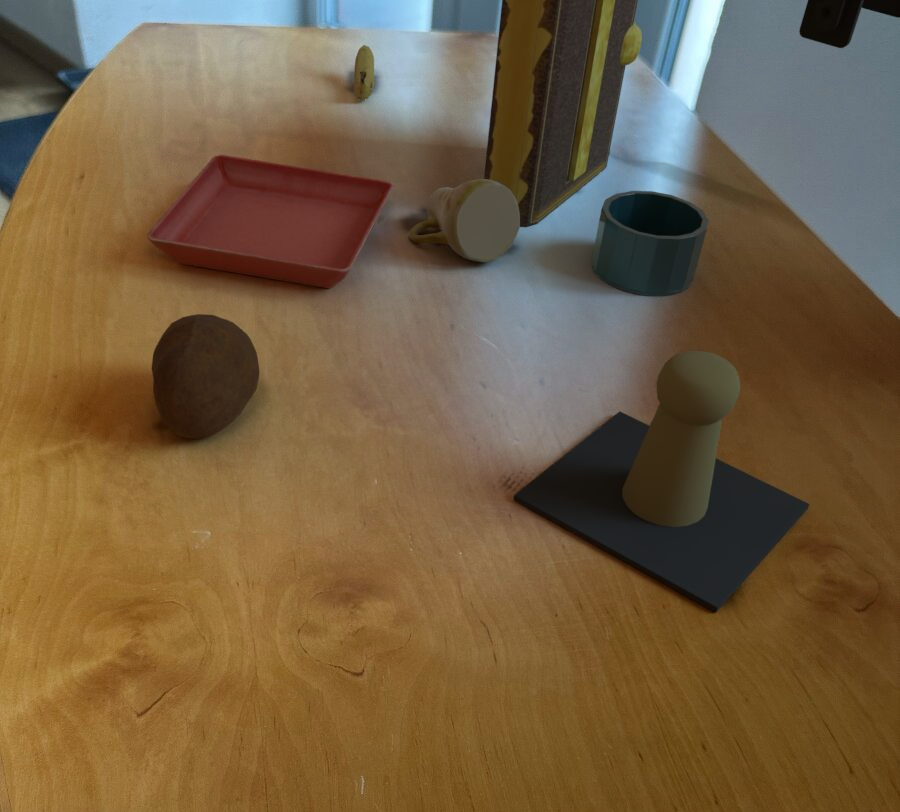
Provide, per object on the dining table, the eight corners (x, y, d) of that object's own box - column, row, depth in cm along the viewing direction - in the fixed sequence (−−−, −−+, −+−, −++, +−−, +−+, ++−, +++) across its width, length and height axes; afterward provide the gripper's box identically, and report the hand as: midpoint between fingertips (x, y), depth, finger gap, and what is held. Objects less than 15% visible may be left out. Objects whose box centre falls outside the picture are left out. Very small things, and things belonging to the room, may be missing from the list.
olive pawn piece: (687, 539, 69) (733, 402, 61) (607, 503, 71) (641, 367, 63) (720, 493, 72) (766, 359, 65) (643, 461, 74) (679, 327, 67)
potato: (144, 454, 71) (127, 356, 66) (170, 376, 78) (157, 281, 73) (250, 460, 72) (242, 363, 66) (267, 382, 79) (261, 288, 73)
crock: (711, 271, 97) (726, 215, 93) (660, 307, 92) (675, 249, 88) (625, 236, 101) (637, 181, 97) (572, 269, 95) (582, 212, 91)
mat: (807, 509, 73) (810, 503, 72) (715, 613, 65) (717, 607, 64) (618, 416, 79) (619, 410, 79) (512, 500, 71) (513, 494, 71)
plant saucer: (348, 304, 88) (349, 268, 85) (147, 271, 89) (142, 235, 87) (394, 214, 100) (396, 181, 98) (218, 186, 102) (215, 153, 99)
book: (539, 233, 100) (582, -63, 82) (463, 208, 102) (490, -84, 85) (625, 162, 114) (679, -104, 96) (557, 142, 116) (597, -121, 99)
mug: (461, 215, 102) (513, 142, 94) (487, 297, 99) (541, 231, 91) (396, 205, 98) (443, 129, 90) (420, 291, 95) (471, 221, 87)
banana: (355, 77, 126) (355, 42, 123) (375, 79, 126) (375, 44, 123) (351, 108, 119) (352, 71, 116) (372, 109, 119) (373, 73, 116)
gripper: (987, -319, 48) (855, 72, 60) (1082, -319, 58) (953, 16, 70) (837, -338, 51) (741, 38, 63) (953, -335, 61) (851, -12, 73)
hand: (853, 26), depth 66 cm, fingers open, 9 cm apart
